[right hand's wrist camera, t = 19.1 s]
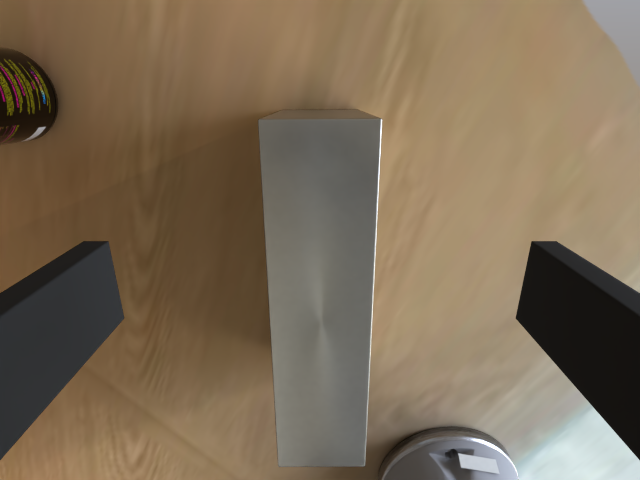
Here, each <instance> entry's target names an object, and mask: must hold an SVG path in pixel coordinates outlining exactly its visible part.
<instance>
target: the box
mask: <svg viewBox="0 0 640 480" xmlns="http://www.w3.org/2000/svg"><path fill="white" fill-rule="evenodd" d="M258 130H259V147H260V164H261V181H262V198H263V215H264V232H265V250H266V267H267V284H268V301H269V318H270V335H271V352H272V369H273V386H274V403H275V421H276V438H277V455H278V466H279V467H355V466H365V457H366V436H367V416H368V396H369V375H370V355H371V335H372V314H373V294H374V274H375V253H376V233H377V213H378V192H379V172H380V152H381V131H382V119H381V118H378V117H376V116H373V115H371V114H368V113H365V112H363V111H360V110H281V111H278V112H276V113H273V114H271V115H268V116H266V117H263V118H261V119H258Z"/></svg>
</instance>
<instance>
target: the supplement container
mask: <svg viewBox="0 0 640 480" xmlns="http://www.w3.org/2000/svg"><path fill="white" fill-rule="evenodd" d="M57 113H58V99H57V94H56V91H55V88H54V86H53V84H52V82H51V80H50V78H49V77H48V75H47V74H46V73H45V71H44V70H43V69H42V68H41V67H40V66H39V65H38V64H37V63H36V62H34V61H33V60H32V59H30V58H29V57H27V56H26V55H24V54H22V53H20V52H18V51H15V50H12V49H8V48H1V47H0V145H4V144H10V143H17V142H23V141H29V140H34V139H37V138H39V137H41V136H43V135H44V134H46V133H47V132H48V131H49V130H50V128H51V127H52V126H53V124H54V122H55V120H56V117H57Z"/></svg>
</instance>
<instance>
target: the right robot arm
mask: <svg viewBox="0 0 640 480" xmlns="http://www.w3.org/2000/svg"><path fill="white" fill-rule="evenodd" d="M123 319H124V315H123V310H122V305H121V300H120V295H119V290H118V286H117V281H116V276H115V271H114V266H113V261H112V256H111V252H110V247H109V242H108V241H83V242H82V243H80V244H79V245H77V246H75V247H74V248H72V249H71V250H69V251H67V252H66V253H64V254H63V255H61V256H59V257H58V258H56V259H55V260H53V261H51V262H50V263H48V264H47V265H45V266H43V267H42V268H40V269H38V270H37V271H35V272H34V273H32V274H30V275H29V276H27V277H26V278H24V279H22V280H21V281H19V282H18V283H16V284H14V285H13V286H11V287H10V288H8V289H6V290H5V291H3V292H2V293H0V460H1V459H2V457H3V456H4V455H5V454H6V453H7V452H8V451H9V449H10V448H11V447H12V446H13V445H14V444H15V443H16V441H17V440H18V439H19V438H20V437H21V436H22V435H23V433H24V432H25V431H26V430H27V429H28V428H29V427H30V425H31V424H32V423H33V422H34V421H35V420H36V419H37V417H38V416H39V415H40V414H41V413H42V412H43V411H44V409H45V408H46V407H47V406H48V405H49V404H50V403H51V401H52V400H53V399H54V398H55V397H56V396H57V395H58V393H59V392H60V391H61V390H62V389H63V388H64V387H65V385H66V384H67V383H68V382H69V381H70V380H71V379H72V377H73V376H74V375H75V374H76V373H77V372H78V371H79V369H80V368H81V367H82V366H83V365H84V364H85V363H86V361H87V360H88V359H89V358H90V357H91V356H92V355H93V353H94V352H95V351H96V350H97V349H98V348H99V347H100V345H101V344H102V343H103V342H104V341H105V340H106V339H107V337H108V336H109V335H110V334H111V333H112V332H113V331H114V329H115V328H116V327H117V326H118V325H119V324H120V323H121V321H122V320H123ZM516 319H517V320H518V321H519V323H520V324H521V325H522V326H523V327H524V328H525V329H526V331H527V332H528V333H529V334H530V335H531V336H532V337H533V339H534V340H535V341H536V342H537V343H538V344H539V345H540V347H541V348H542V349H543V350H544V351H545V352H546V353H547V355H548V356H549V357H550V358H551V359H552V360H553V361H554V363H555V364H556V365H557V366H558V367H559V368H560V369H561V371H562V372H563V373H564V374H565V375H566V376H567V377H568V379H569V380H570V381H571V382H572V383H573V384H574V385H575V387H576V388H577V389H578V390H579V391H580V392H581V393H582V395H583V396H584V397H585V398H586V399H587V400H588V401H589V403H590V404H591V405H592V406H593V407H594V408H595V409H596V411H597V412H598V413H599V414H600V415H601V416H602V417H603V419H604V420H605V421H606V422H607V423H608V424H609V425H610V427H611V428H612V429H613V430H614V431H615V432H616V433H617V435H618V436H619V437H620V438H621V439H622V440H623V441H624V443H625V444H626V445H627V446H628V447H629V448H630V449H631V451H632V452H633V453H634V454H635V455H636V456H637V457H638V459H639V460H640V293H638V292H637V291H635V290H634V289H632V288H630V287H629V286H627V285H626V284H624V283H622V282H621V281H619V280H618V279H616V278H614V277H613V276H611V275H610V274H608V273H606V272H605V271H603V270H602V269H600V268H598V267H597V266H595V265H593V264H592V263H590V262H589V261H587V260H585V259H584V258H582V257H581V256H579V255H577V254H576V253H574V252H573V251H571V250H569V249H568V248H566V247H565V246H563V245H561V244H560V243H558V242H557V241H532V242H531V247H530V252H529V256H528V261H527V266H526V271H525V276H524V281H523V286H522V290H521V295H520V300H519V305H518V310H517V315H516ZM378 480H519V478H518V474H517V471H516V468H515V466H514V464H513V462H512V461H511V459H510V457H509V455H508V453H507V451H506V450H505V448H504V447H503V446H502V445H501V444H500V443H499V442H498V441H497V440H495V439H494V438H492V437H491V436H489V435H487V434H485V433H483V432H480V431H477V430H474V429H469V428H463V427H442V428H435V429H430V430H427V431H423V432H420V433H418V434H415V435H413V436H411V437H409V438H407V439H405V440H404V441H402V442H401V443H399V444H398V445H397V446H396V447H395V448H394V449H392V450H391V451H390V453H389V454H388V455H387V456H386V458H385V459H384V461H383V463H382V465H381V467H380V470H379V475H378Z"/></svg>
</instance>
